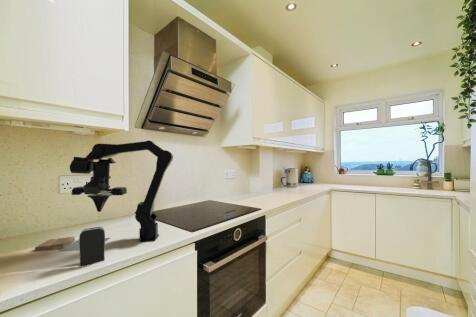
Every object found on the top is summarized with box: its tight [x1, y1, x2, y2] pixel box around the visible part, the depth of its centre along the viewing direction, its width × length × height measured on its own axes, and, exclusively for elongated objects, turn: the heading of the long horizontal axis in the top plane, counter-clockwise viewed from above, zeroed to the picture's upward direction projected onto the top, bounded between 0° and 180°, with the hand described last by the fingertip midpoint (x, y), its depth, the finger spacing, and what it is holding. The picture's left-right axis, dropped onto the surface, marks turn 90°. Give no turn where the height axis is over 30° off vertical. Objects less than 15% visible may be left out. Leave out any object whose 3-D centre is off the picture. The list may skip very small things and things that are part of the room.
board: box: [34, 236, 76, 252], centre depth 82 cm, size 2×8×9 cm
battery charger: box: [78, 226, 106, 267], centre depth 69 cm, size 7×4×11 cm, turn 124°
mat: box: [57, 237, 111, 252], centre depth 83 cm, size 13×12×1 cm
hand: (99, 211), depth 85 cm, fingers closed
